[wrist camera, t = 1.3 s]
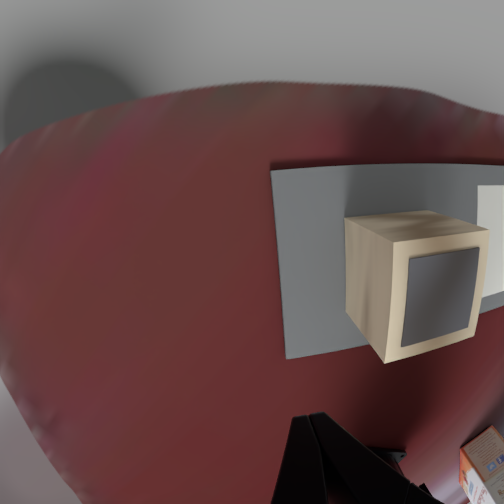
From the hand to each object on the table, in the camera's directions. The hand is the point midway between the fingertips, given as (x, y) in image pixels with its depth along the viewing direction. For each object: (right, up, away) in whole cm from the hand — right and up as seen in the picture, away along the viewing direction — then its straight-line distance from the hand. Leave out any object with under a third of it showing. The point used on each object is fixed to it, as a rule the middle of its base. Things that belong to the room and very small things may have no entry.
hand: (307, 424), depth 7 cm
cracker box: (+30, -25, +22) cm, 44 cm away
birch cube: (+7, +4, +11) cm, 14 cm away
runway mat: (+13, +5, +12) cm, 18 cm away
